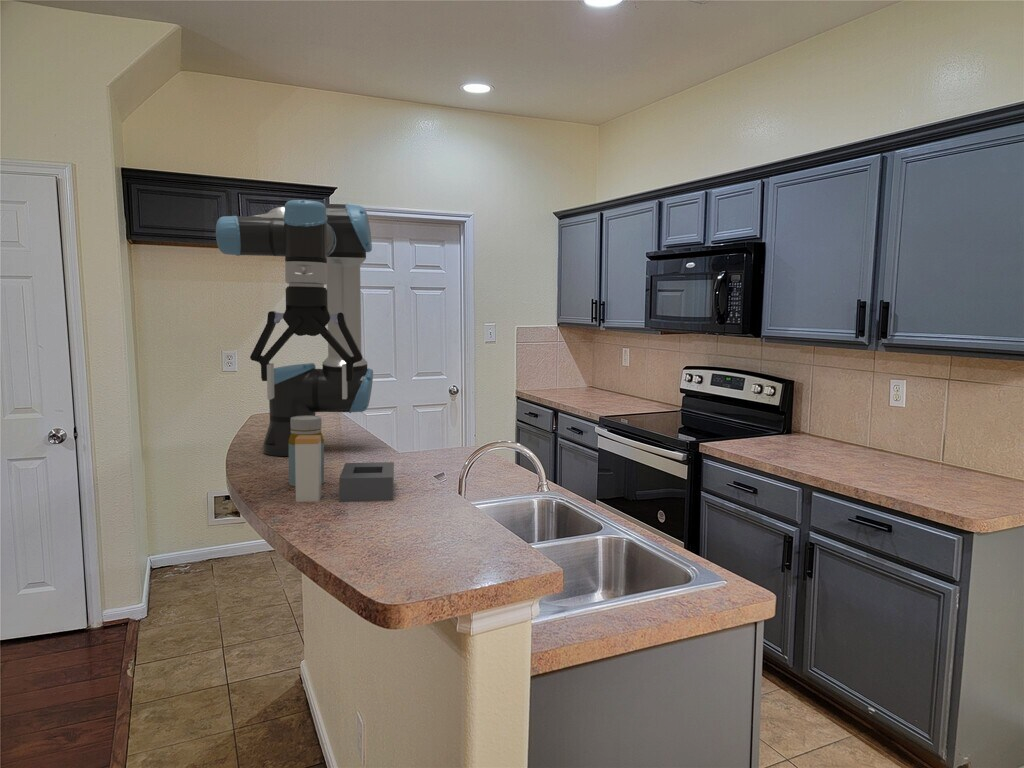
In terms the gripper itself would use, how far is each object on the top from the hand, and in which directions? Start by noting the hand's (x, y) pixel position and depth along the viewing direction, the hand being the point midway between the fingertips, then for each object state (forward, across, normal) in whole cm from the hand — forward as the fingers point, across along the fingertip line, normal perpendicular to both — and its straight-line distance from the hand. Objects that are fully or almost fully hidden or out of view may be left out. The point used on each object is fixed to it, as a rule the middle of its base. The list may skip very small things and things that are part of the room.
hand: (308, 398), depth 128 cm
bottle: (+21, -2, +11) cm, 24 cm away
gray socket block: (+20, +11, +3) cm, 23 cm away
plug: (+20, 0, -1) cm, 20 cm away
